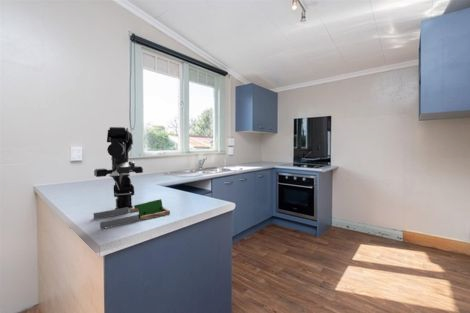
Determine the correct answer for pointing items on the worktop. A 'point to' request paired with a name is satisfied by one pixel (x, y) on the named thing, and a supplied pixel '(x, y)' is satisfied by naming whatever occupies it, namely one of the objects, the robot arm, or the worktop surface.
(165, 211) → the bay
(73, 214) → the worktop surface
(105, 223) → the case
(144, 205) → the green bracket
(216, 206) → the worktop surface
